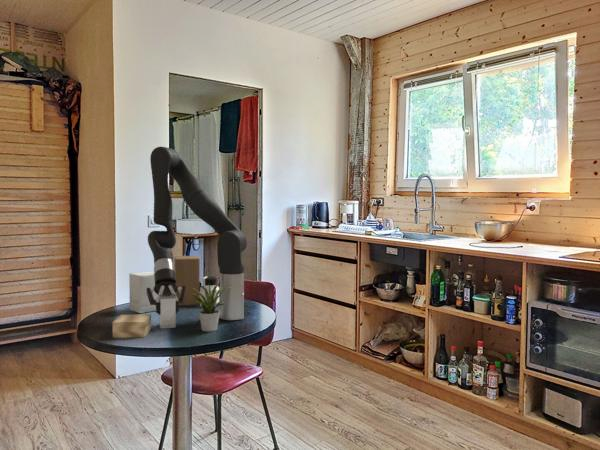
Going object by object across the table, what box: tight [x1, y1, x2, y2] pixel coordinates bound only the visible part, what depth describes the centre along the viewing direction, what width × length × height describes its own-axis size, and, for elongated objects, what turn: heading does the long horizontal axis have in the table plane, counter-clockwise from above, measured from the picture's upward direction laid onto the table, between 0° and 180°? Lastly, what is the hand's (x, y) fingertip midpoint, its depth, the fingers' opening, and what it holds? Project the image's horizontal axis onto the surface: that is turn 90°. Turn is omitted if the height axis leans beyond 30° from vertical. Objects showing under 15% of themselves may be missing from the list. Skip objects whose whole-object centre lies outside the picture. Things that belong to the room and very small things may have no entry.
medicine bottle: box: [199, 275, 219, 307], centre depth 200 cm, size 7×7×12 cm
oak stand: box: [112, 313, 152, 339], centre depth 156 cm, size 10×10×5 cm
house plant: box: [192, 283, 229, 332], centre depth 162 cm, size 14×14×16 cm
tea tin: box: [158, 293, 177, 330], centre depth 165 cm, size 5×5×11 cm
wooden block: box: [173, 255, 201, 307], centre depth 201 cm, size 10×10×20 cm
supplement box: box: [128, 270, 158, 314], centre depth 188 cm, size 9×9×15 cm
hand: (168, 312), depth 163 cm, fingers closed on tea tin, 5 cm apart
